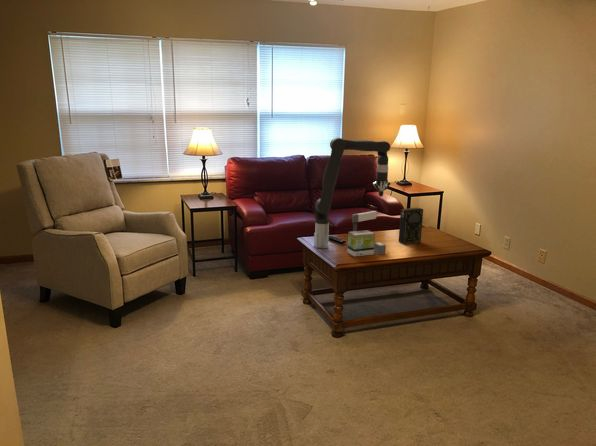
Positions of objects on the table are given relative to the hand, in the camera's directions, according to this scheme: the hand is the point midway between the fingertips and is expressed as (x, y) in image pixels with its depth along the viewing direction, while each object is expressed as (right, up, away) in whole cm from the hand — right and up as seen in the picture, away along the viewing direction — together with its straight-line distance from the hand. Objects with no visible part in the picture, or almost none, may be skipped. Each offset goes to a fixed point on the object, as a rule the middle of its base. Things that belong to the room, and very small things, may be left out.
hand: (380, 196), depth 317 cm
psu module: (-3, -38, -8) cm, 39 cm away
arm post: (-19, -36, 0) cm, 40 cm away
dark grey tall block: (+23, -33, +16) cm, 43 cm away
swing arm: (-11, -16, 0) cm, 20 cm away
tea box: (-15, -39, -10) cm, 43 cm away
